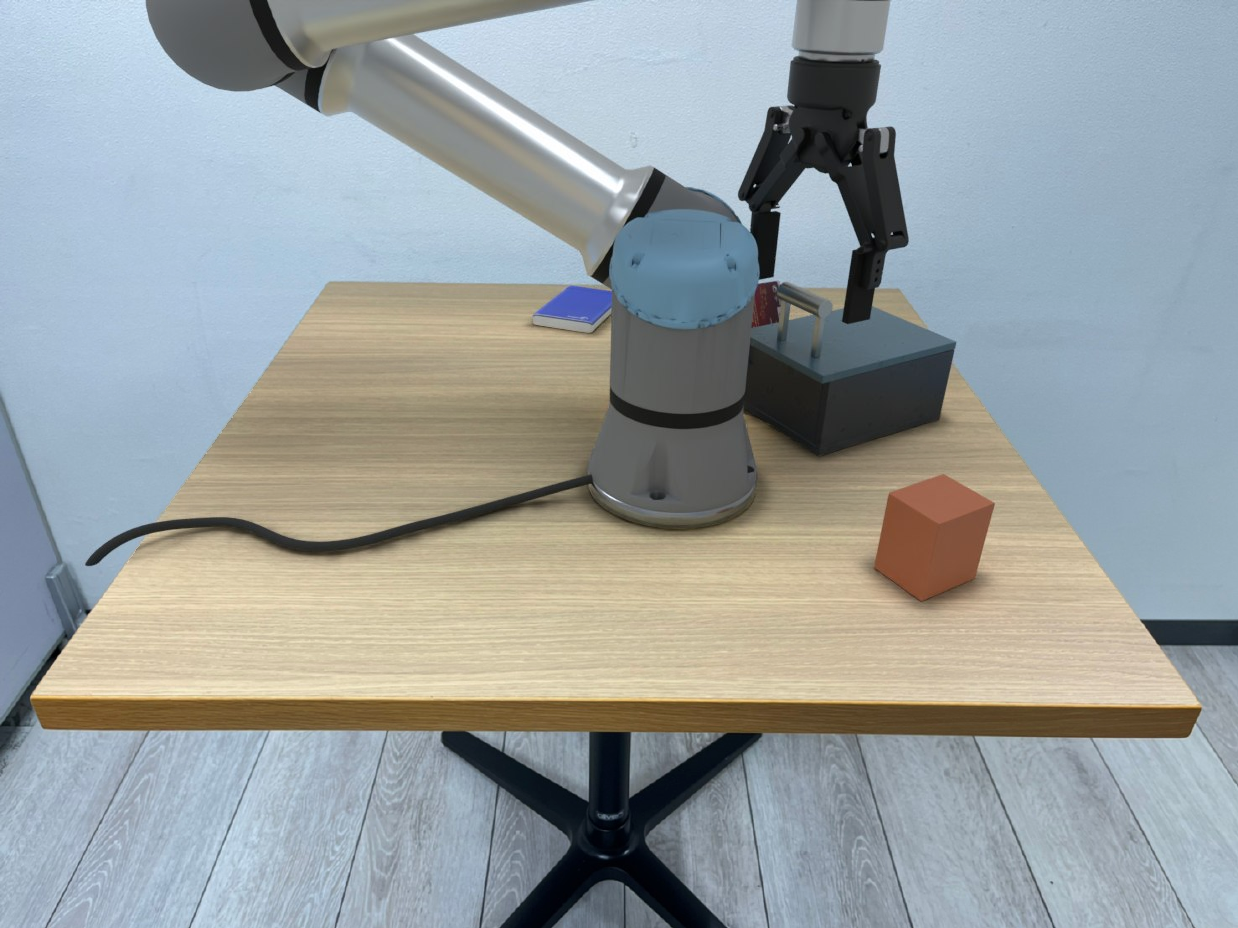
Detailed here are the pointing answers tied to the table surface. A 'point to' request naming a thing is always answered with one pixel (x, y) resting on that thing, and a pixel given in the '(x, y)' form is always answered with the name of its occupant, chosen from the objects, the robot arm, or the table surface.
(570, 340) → the table surface
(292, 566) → the table surface
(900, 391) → the black box
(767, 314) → the supplement box
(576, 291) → the blue book
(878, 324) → the box lid
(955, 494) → the reddish-orange cube block
